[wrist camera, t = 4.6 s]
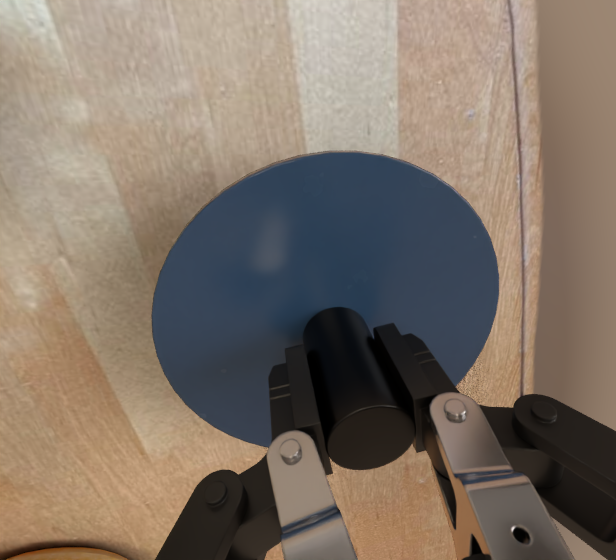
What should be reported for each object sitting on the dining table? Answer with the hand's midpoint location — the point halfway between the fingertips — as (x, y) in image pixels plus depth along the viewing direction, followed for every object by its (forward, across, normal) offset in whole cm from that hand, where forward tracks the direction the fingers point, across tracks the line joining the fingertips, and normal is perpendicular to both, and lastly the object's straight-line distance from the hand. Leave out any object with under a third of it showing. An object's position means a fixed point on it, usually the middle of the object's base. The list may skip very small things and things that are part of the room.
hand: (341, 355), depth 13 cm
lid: (+2, 0, 0) cm, 2 cm away
